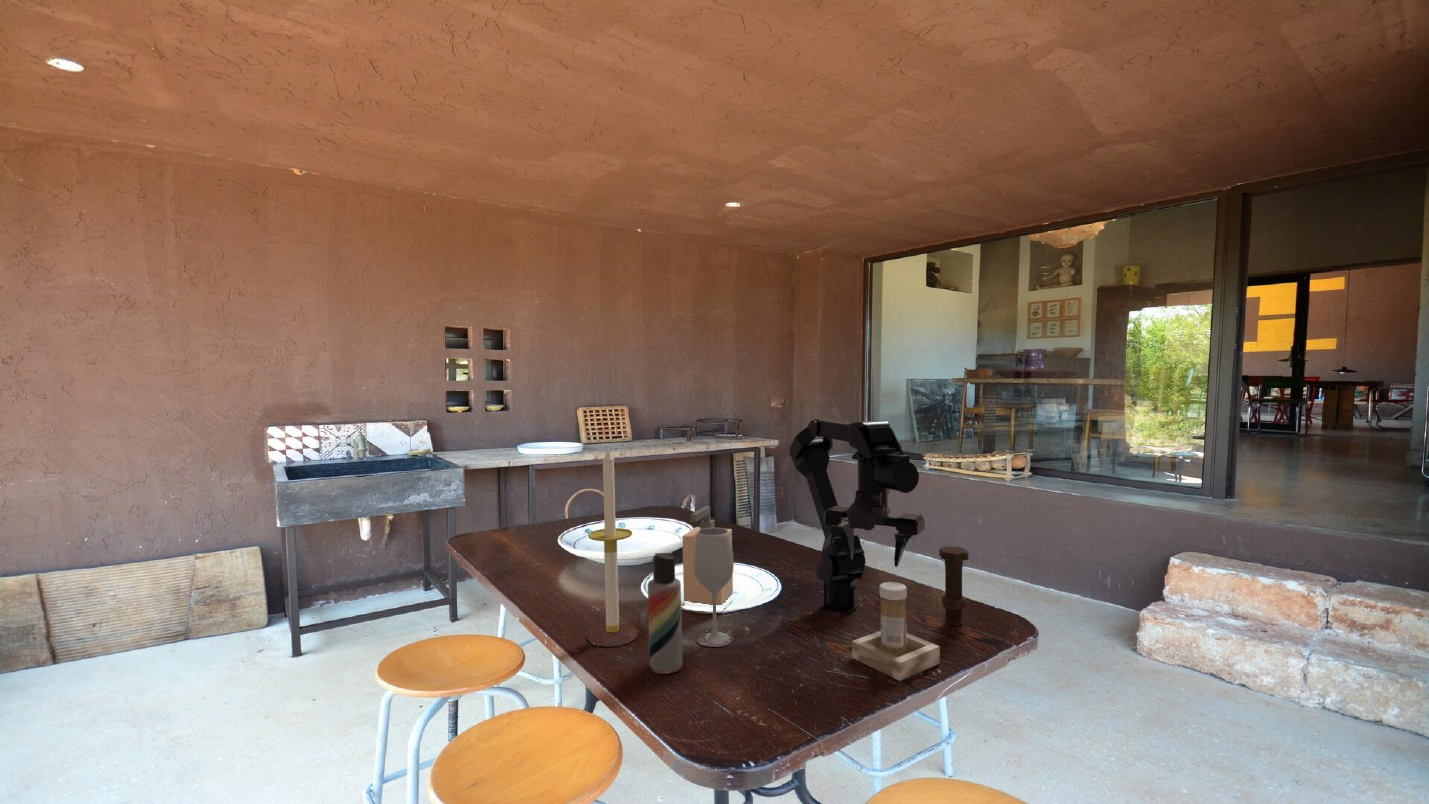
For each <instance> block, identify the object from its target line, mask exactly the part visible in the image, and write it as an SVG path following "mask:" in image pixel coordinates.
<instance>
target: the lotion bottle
mask: <svg viewBox="0 0 1429 804" xmlns="http://www.w3.org/2000/svg"><path fill="white" fill-rule="evenodd" d="M675 560H676V558H675V555H673V554H671V553H668V552H657V553H654V556H653V557H652V575H653V577H652V579H650V580H649V581H648V584H647V604H648V606H647V608H648V609H647V611H648V644H649V645H648V646H649V647H648V648H649V649H648V651H649V652H648V653H649V667H650V666H651V667H652V669H654V670H659V671H672V670H676V669H678V668H679V667H681V666H682V667H683V630H682V629H683V628H682V625H683V623H682V618H683V617H682V585H681V584H682V583H681V581H680V579H678V578H676V561H675Z"/></svg>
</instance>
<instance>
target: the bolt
mask: <svg viewBox="0 0 1429 804" xmlns="http://www.w3.org/2000/svg"><path fill="white" fill-rule="evenodd" d="M938 551H939V552H938V555H939V556H940V559H941V560H944V567H945V568H944V569H945V570H944V575H945V578H944V579H945V580H944V581H945V582H944V583H945V584H944V585H945V590H944V591H945V593H943V594H941V604H942V606H943V607H944V610H945V623H946V624H947V623H948V625H949V626H960V624H961V625H962V624H963V610H964V609H965V608H967V599H966V597H965V596H964V595H963V565H964V561H968V560H969V551H968V549H966V548H964V547H960V546H952V545H951V546H947V545H946V546H942V547H940V548H939V550H938Z"/></svg>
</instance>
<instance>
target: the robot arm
mask: <svg viewBox="0 0 1429 804" xmlns="http://www.w3.org/2000/svg"><path fill="white" fill-rule="evenodd" d="M890 425H891V424H890V422H889V421H886V420H869V421H866V420H865V421H855V422H851V421H844V420H843V421H842V420H838V419H837V420H836V419H832V418H829V417H828V418H827V417H823V418H814V419H812V420H810V421H809V423H808V425H807V427H805V428H803V430H801V431H800V432H799V433H797V434H796V435H795V437H794V438H793V441H792V442H791V445H790V446H789V456H790V458H791V460H792V462H793V464H794V467H795V469H796V470H797V471H798V472H799V473H800V474H801V475H803V477H805V479H806V481H807V484H808V488H809V491H810V495H811V497H812V500H813V504H814V507H815V510H816V513H817V517H818V519H819V523H820V527H821V530H822V533H823V536H824V540H823V544H822V549H821V555H822V559H821V561H820V562H819V563H818V565H816V567H815V571H816V577H817V579H819V580H820V581H823V586H822V587H823V589H822V591H823V602H822V603H821V604H820V605H819V606H820V609H825V610H830V611H834V612H839V613H845V614H850V613H851V612H852V611H853V610H855V608H856V607H858V606H859V605H860V604H859V585H857V584H856V583H857V581H856V580H861V579H862V578H863V576H864V570H865V567H866V562H867V561H866V556H865V550H864V548H863V547H862V543H861V540H860V537H859V536H858V534H854V533H855V531H854V530H855V529H859V530H861V529H862V530H864V531H872V530H873V529H874V528H875V527H876V526H883V527H891V528H892V527H893V528H895V530H896V531H897V532H896V533H895V534H894V535H893V536H894V539H895V545H894V547H895V548H894V559H893V561H894V562H893V563H894V567H895V568H897V567H898V566H899V564H900V563H901V559H902V557H903V554H904V552H905V549H906V546H907V544H908V542H909V541H910V539H912V538H913V537H914V536H917V535H919V534H920V533H922V532H923V531H924V530H925V527H926V526H925V525H926V523H925V522H926V521H925V518H924V517H923V515H922V514H916V513H915V514H913V513H906V512H903V513H902V514H901V515H898V516H889V515H890V508H889V494H890V491H895V492H899V493H902V494H907V493H910V492H913V490H915V489H916V487H917V486H918V483H919V480H920V473H919V471H918V469H917V467H916V465H915V464H914V463H913V462H911V460H910V457H911V456H910V455H907V454H904V452H903V449H902V445H901V444H900V443H899V440H898V439H897V436H896V434H895V432H894V430H893V428H892V427H891V426H890ZM821 437H822V438H821ZM833 440H837V441H842V442H846V443H848V444H849V446H850V447H851V448H852V449H855V450H857V451H856V452H854V453H853V454H852V456H851V459H852V460H855V461H857V490H855V497H854V501H853V502H852V503H851V505H850V506H849V507H848V506H839V504H838V501H837V498H836V495H835V492H834V488H833V486H832V485H833V484H832V482H831V480H830V476H829V474H828V466H829V464H830V463H829V462H830V460H831V459H830V458H831V457H830V454H829V453H830V452H831V450H832V448H833V446H834V442H833ZM875 525H876V526H875Z"/></svg>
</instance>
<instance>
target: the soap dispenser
mask: <svg viewBox="0 0 1429 804" xmlns="http://www.w3.org/2000/svg"><path fill="white" fill-rule="evenodd" d="M702 519H703V520H702ZM698 521H700V522H699V526H696V527H694V528H692V529H691V530H690V531H688V532H686V533H685V534H683V535H682V575H683V579H682V581H683V602H684V601H689V602H692V603H702V604H709V605H713V601H712V594H711V592H710V591H709V590H708V589H706V588H705V587H704V586H703V585H702V584H701V583H700V582H699V581H698V579H697V577H696V575H695V572H694V552H695V544H696V537H697V532H698V531H699V530H701V529H704V528H716V527H715V521H716V520H715V519H711V506H710V505H705V506H703V507H701V508H700V509H697V510H696V511H695V512H693V513H691V514H690V522H691V523H692V522H693V523H696V522H698ZM726 529H727V530H728V531H729V535H730V540H731V545H732V546H733V534H732V533H733V529H731V528H726ZM733 577H734V575H733V574H732V576H731V579H730V580H729V581H728V583H727V584H726V585H725V586H724V587H723V588H722V589H720V590H719V591H718V593H717V597H716V605H722V604H723V603H725V602H726V600H728V598H729V597H730V596H731V595H732V594H733V595H734V583H733V581H734V579H733Z"/></svg>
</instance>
